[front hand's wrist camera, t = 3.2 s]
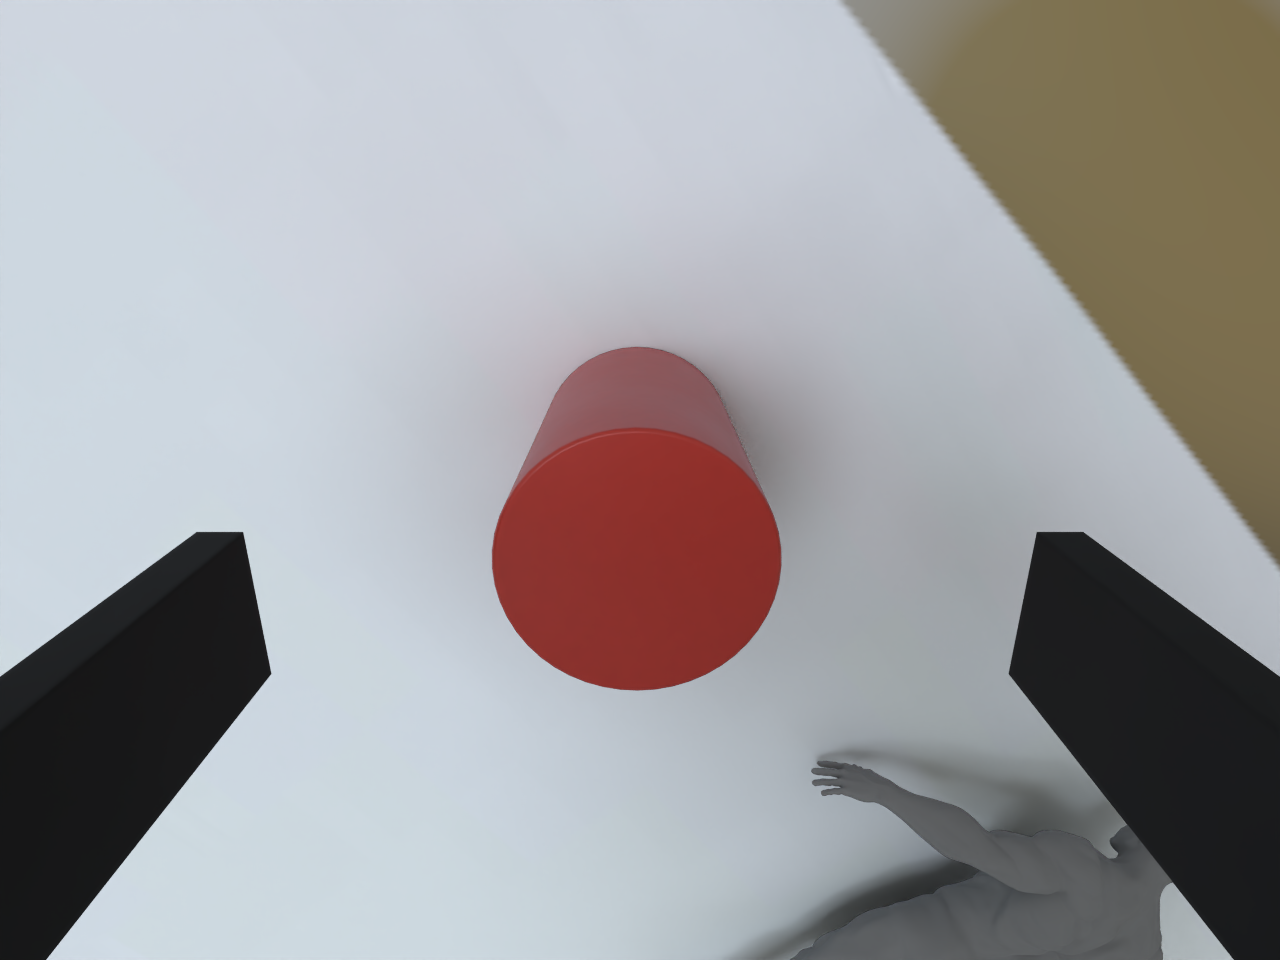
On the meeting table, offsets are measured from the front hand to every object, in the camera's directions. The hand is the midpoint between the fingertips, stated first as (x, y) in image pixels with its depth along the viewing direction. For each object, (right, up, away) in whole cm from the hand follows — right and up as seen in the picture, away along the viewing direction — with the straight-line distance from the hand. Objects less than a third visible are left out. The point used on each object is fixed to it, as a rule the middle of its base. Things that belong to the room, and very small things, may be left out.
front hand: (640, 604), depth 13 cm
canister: (0, +3, +10) cm, 11 cm away
